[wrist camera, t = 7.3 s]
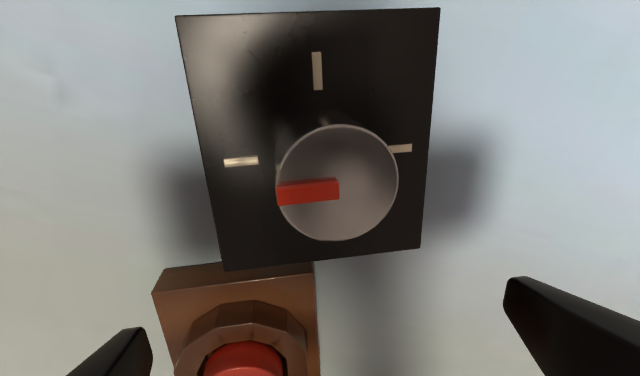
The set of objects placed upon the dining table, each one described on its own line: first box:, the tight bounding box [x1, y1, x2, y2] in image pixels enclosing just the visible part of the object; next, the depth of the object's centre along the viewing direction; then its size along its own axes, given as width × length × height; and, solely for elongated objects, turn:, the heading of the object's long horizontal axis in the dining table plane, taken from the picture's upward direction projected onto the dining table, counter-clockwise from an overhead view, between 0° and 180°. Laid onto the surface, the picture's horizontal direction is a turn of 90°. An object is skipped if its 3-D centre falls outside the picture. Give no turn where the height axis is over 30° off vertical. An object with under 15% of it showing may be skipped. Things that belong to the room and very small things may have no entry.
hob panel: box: [175, 7, 440, 272], centre depth 15 cm, size 11×10×4 cm
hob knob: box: [275, 108, 399, 242], centre depth 12 cm, size 4×4×4 cm
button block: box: [151, 262, 320, 376], centre depth 19 cm, size 10×9×4 cm
